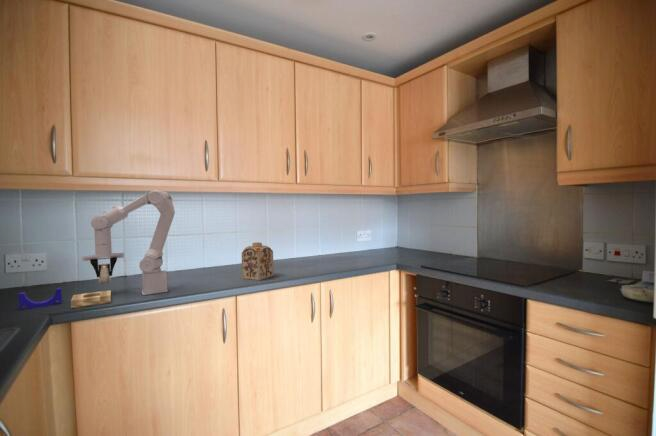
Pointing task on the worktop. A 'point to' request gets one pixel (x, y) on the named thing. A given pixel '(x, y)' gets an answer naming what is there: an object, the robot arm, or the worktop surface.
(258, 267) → the decorative jar
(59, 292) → the blue curved cradle
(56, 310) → the worktop surface
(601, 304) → the worktop surface
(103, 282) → the pin
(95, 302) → the pocket block
